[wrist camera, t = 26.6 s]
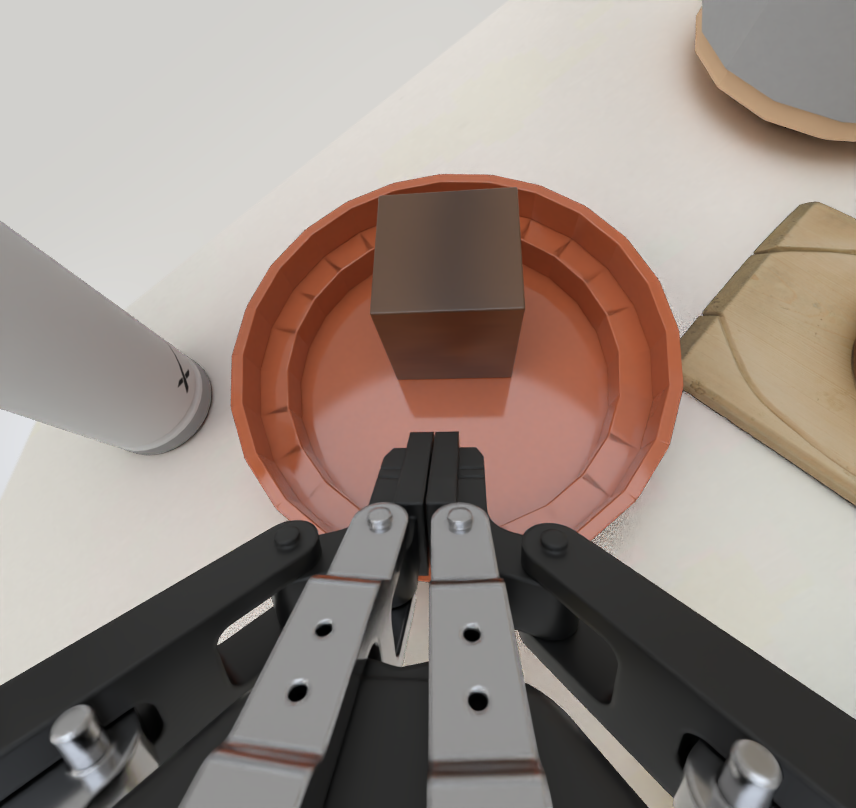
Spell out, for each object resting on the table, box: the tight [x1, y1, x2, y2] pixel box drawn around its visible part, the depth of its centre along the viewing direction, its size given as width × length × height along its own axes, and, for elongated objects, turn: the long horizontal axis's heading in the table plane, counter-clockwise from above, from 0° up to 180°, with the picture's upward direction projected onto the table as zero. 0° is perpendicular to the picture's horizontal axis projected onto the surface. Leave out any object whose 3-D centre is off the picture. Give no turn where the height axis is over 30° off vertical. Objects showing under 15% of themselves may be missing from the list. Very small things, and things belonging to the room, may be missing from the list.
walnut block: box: [370, 187, 525, 380], centre depth 22 cm, size 6×6×7 cm
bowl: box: [231, 174, 683, 582], centre depth 23 cm, size 21×21×4 cm
